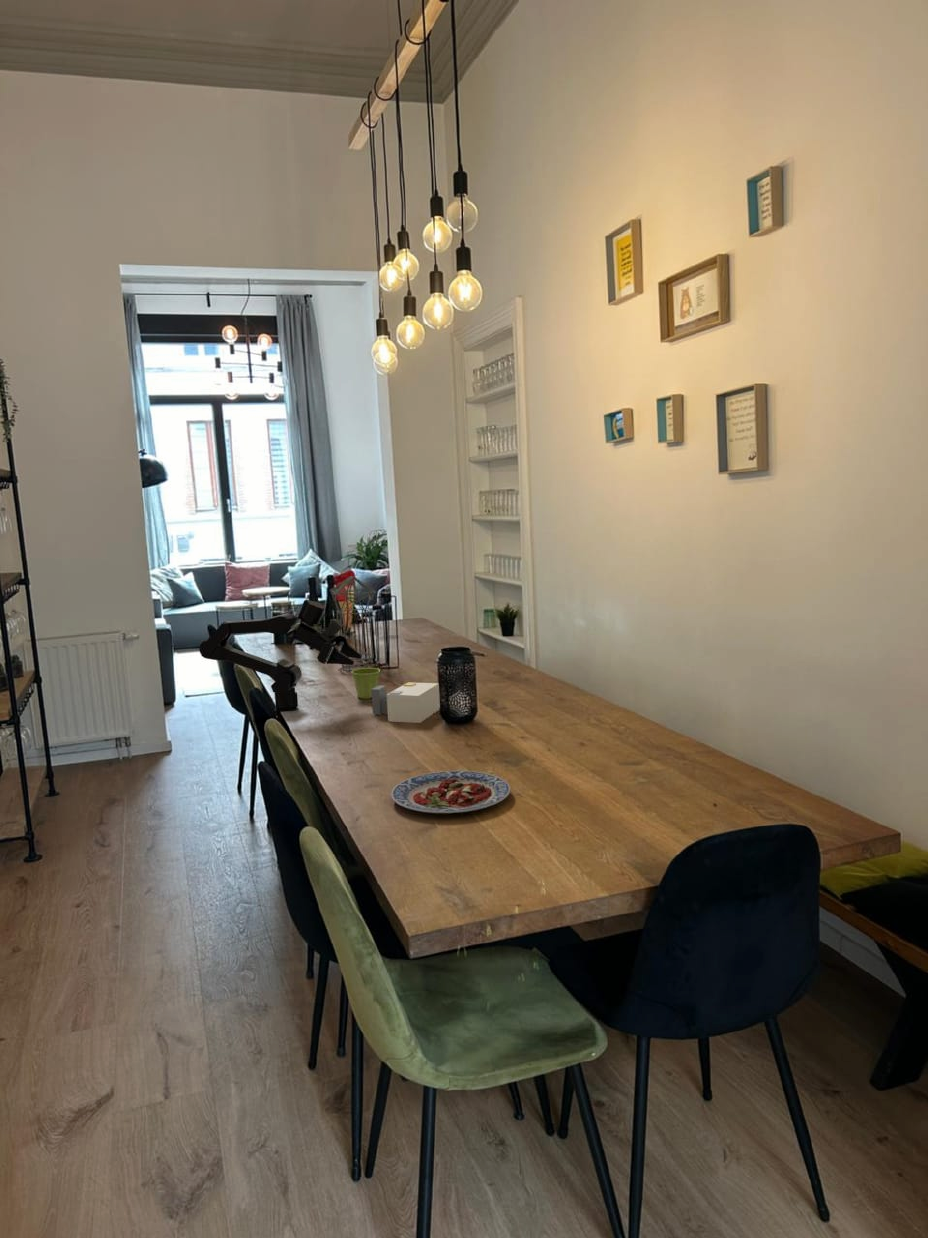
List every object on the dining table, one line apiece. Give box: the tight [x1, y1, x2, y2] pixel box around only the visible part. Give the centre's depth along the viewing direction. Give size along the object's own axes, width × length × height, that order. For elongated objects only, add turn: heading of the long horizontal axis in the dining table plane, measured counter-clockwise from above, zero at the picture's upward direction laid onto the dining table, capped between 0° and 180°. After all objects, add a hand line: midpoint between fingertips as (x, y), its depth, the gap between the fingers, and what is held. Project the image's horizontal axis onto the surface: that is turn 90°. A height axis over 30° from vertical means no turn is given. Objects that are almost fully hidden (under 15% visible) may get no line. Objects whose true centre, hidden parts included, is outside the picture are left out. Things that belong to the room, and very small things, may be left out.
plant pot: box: [351, 667, 381, 700], centre depth 290 cm, size 9×9×9 cm
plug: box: [371, 685, 388, 715], centre depth 267 cm, size 9×5×8 cm, turn 71°
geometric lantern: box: [328, 576, 377, 672], centre depth 335 cm, size 16×16×35 cm
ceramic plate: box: [390, 770, 511, 814], centre depth 193 cm, size 26×26×3 cm
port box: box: [386, 681, 441, 724], centre depth 264 cm, size 10×16×8 cm, turn 161°
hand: (357, 660), depth 274 cm, fingers open, 9 cm apart
